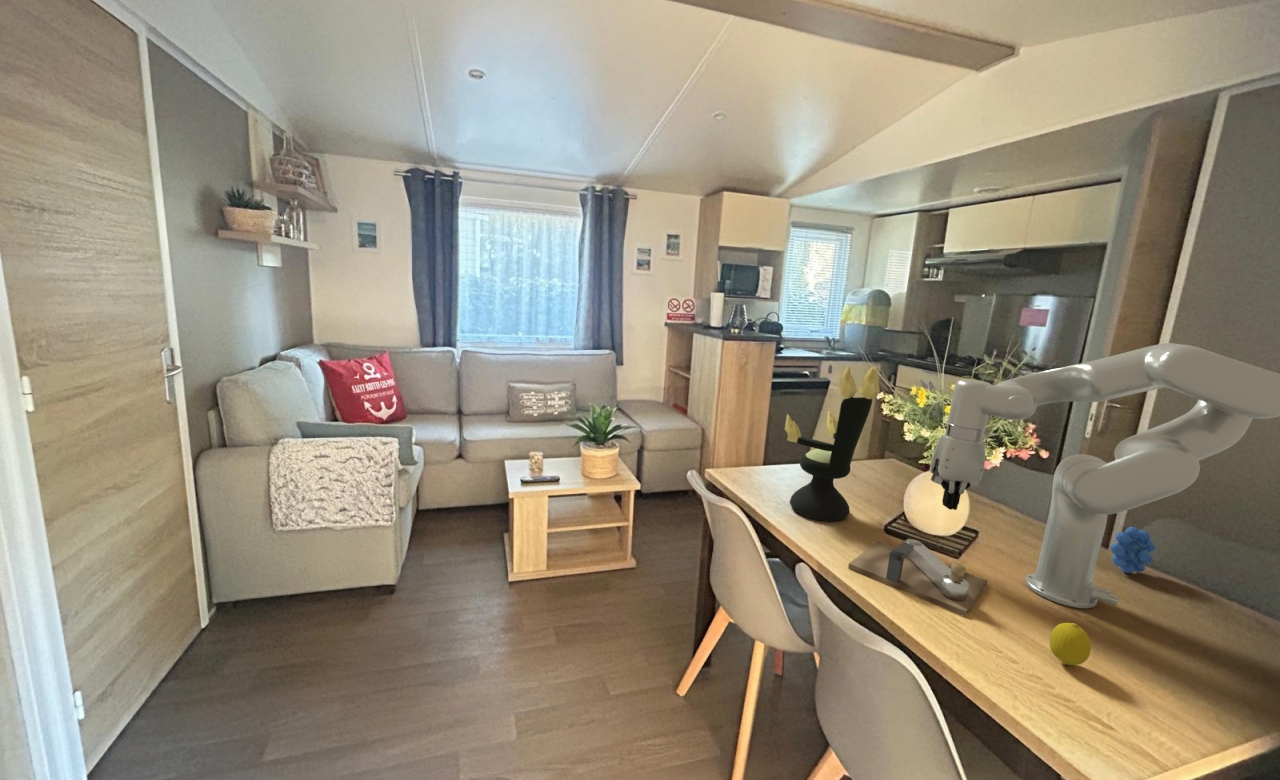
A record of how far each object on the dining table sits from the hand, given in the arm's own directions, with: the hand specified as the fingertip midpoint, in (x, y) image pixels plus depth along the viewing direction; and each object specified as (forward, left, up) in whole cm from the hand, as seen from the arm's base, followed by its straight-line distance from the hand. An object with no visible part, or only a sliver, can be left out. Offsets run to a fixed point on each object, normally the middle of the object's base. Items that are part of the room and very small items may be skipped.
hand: (949, 507), depth 123 cm
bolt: (-1, +10, -13) cm, 17 cm away
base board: (+2, +12, -14) cm, 19 cm away
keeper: (+4, +17, -13) cm, 22 cm away
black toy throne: (+32, -5, -15) cm, 35 cm away
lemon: (-26, +23, -15) cm, 38 cm away
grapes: (-33, -32, -15) cm, 49 cm away
